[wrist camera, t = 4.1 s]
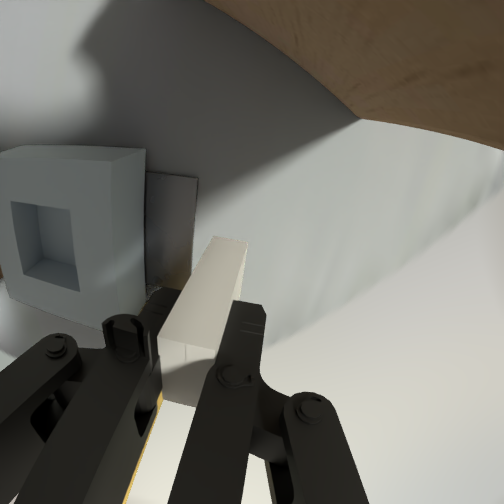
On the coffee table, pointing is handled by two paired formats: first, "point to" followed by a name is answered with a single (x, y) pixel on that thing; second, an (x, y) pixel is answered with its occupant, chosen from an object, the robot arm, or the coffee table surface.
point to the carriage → (74, 230)
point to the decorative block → (396, 57)
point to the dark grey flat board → (168, 228)
